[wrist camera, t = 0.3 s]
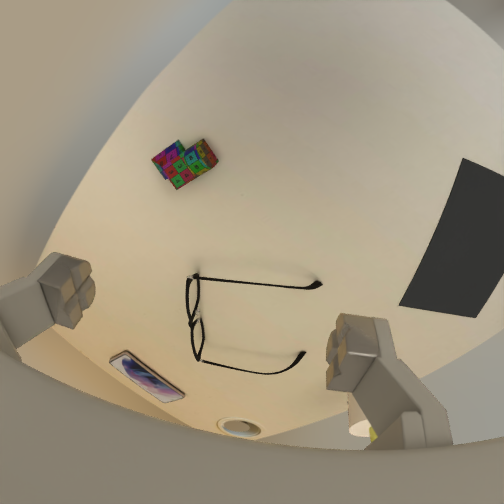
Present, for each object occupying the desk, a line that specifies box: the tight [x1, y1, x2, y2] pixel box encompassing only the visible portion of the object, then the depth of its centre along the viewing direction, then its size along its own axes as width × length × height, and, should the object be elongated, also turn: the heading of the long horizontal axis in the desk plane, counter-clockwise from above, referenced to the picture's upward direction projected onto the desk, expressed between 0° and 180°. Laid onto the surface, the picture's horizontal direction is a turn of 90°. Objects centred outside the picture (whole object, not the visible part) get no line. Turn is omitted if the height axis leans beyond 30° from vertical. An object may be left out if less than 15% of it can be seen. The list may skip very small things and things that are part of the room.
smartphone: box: [109, 352, 185, 403], centre depth 54 cm, size 7×1×15 cm
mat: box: [399, 158, 504, 318], centre depth 31 cm, size 20×14×1 cm
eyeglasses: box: [186, 273, 323, 375], centre depth 39 cm, size 16×16×4 cm
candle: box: [348, 392, 378, 443], centre depth 38 cm, size 6×6×15 cm
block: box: [151, 138, 218, 190], centre depth 29 cm, size 6×4×3 cm
